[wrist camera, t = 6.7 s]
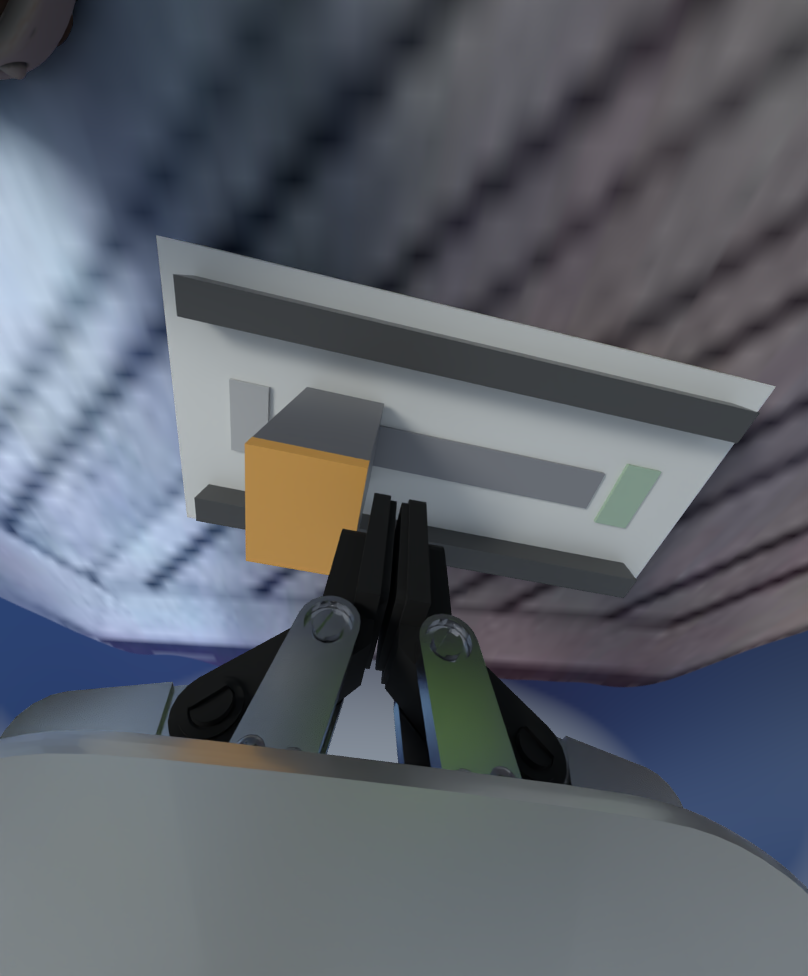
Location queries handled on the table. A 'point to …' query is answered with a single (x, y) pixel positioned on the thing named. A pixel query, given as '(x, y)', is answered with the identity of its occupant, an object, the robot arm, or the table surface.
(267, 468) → the block
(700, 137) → the table surface
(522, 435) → the breaker panel
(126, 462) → the table surface
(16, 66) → the flowerpot
